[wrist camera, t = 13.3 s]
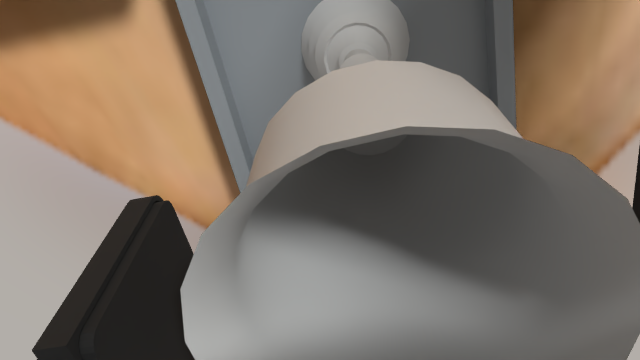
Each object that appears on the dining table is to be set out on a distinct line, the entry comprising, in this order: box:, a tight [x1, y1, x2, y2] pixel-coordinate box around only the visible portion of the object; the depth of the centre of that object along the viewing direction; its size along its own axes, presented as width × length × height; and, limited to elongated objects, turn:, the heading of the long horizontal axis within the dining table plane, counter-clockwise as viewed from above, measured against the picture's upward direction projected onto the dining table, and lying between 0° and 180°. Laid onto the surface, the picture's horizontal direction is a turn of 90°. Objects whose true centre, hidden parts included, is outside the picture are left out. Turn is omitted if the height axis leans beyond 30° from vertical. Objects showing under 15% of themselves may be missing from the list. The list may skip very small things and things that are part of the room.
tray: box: [175, 0, 516, 193], centre depth 24 cm, size 14×12×2 cm
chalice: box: [180, 0, 640, 360], centre depth 16 cm, size 7×7×18 cm
